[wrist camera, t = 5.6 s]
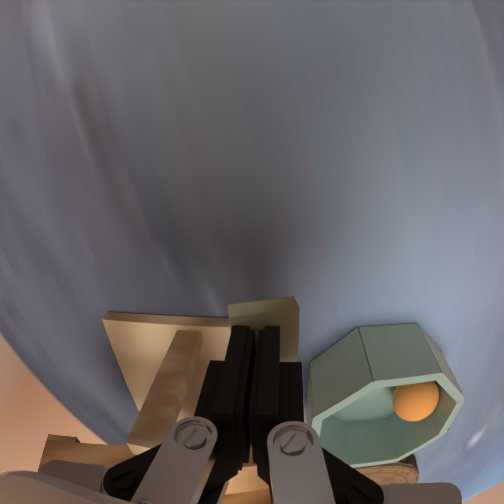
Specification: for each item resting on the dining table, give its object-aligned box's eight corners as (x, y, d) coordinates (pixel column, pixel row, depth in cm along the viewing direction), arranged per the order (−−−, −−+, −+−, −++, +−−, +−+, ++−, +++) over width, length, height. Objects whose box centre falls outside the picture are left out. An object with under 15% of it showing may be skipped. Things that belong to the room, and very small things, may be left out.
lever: (296, 292, 12) (326, 345, 9) (287, 480, 18) (297, 516, 15) (-18, 319, 10) (-51, 362, 7) (99, 489, 16) (96, 523, 13)
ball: (451, 395, 16) (405, 403, 17) (435, 426, 18) (391, 433, 18) (436, 361, 20) (393, 366, 20) (423, 393, 21) (383, 398, 21)
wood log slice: (358, 502, 32) (360, 518, 30) (258, 488, 31) (256, 508, 28) (440, 448, 26) (446, 468, 23) (332, 430, 25) (335, 457, 22)
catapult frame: (292, 318, 20) (292, 457, 11) (288, 427, 24) (284, 529, 15) (108, 311, 21) (34, 410, 12) (147, 415, 26) (113, 502, 17)
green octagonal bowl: (452, 319, 19) (482, 365, 14) (416, 412, 23) (430, 455, 18) (312, 328, 20) (317, 384, 15) (304, 422, 24) (304, 470, 19)
